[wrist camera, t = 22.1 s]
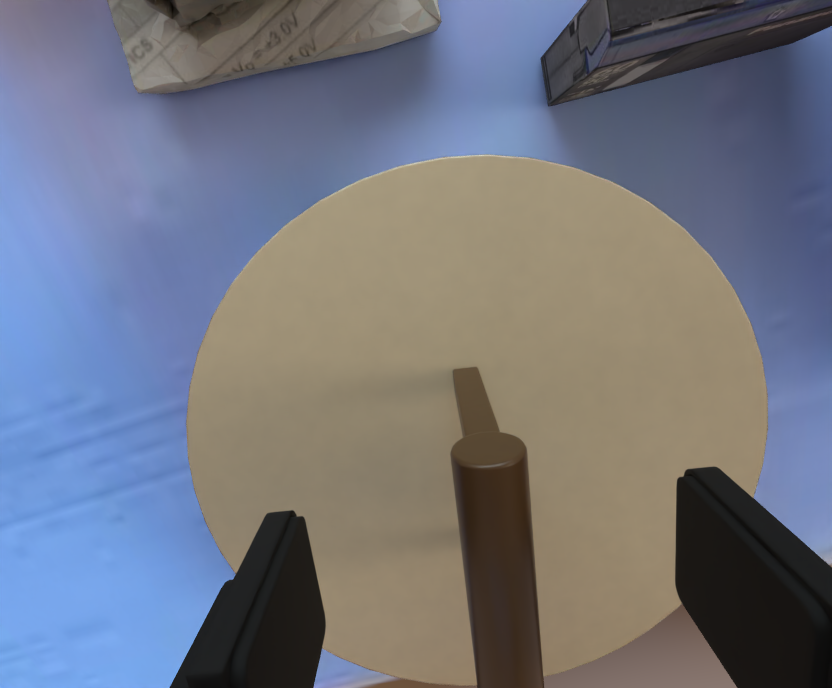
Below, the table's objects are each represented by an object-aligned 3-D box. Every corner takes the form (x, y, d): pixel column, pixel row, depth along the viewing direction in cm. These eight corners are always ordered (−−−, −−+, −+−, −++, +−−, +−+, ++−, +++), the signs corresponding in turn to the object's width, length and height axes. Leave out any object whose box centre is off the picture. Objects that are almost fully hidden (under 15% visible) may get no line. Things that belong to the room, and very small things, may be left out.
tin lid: (759, 118, 13) (1097, 33, 7) (733, 635, 17) (919, 892, 11) (138, 200, 14) (-116, 196, 7) (261, 677, 18) (172, 944, 12)
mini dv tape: (546, 106, 17) (610, 57, 12) (539, 59, 17) (601, -16, 11) (792, 43, 17) (987, -43, 11) (789, -8, 16) (991, -124, 11)
